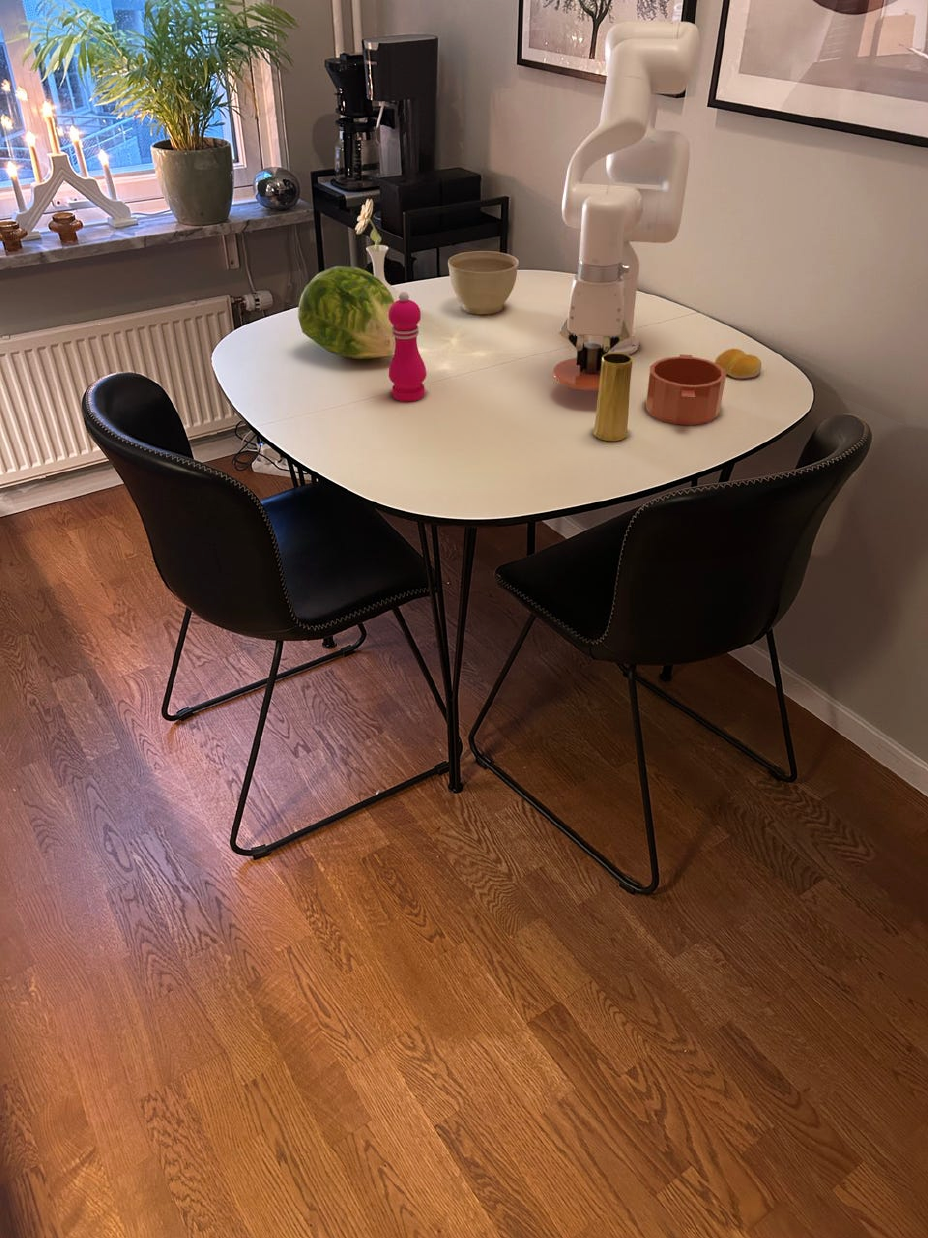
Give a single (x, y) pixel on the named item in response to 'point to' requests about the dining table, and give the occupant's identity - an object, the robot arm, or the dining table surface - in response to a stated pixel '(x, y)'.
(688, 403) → the crock
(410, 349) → the pepper mill
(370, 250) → the flower in vase
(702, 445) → the dining table surface
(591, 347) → the crock lid
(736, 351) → the bread roll
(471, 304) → the planter bowl
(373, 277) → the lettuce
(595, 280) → the robot arm
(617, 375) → the vase
